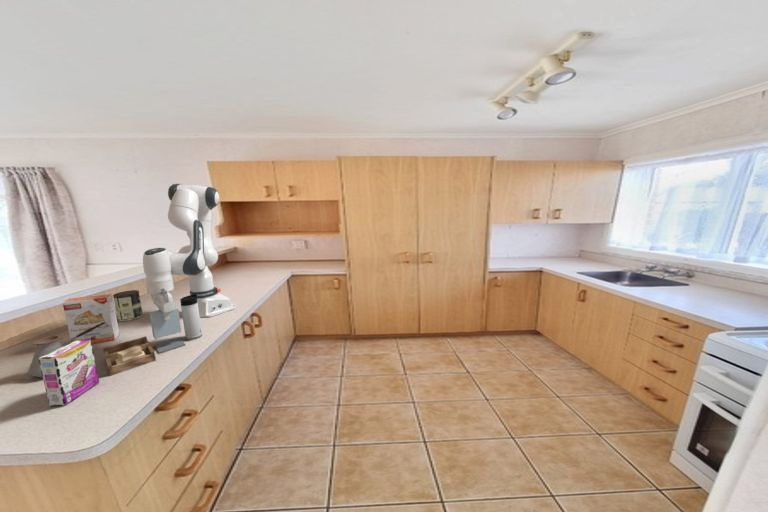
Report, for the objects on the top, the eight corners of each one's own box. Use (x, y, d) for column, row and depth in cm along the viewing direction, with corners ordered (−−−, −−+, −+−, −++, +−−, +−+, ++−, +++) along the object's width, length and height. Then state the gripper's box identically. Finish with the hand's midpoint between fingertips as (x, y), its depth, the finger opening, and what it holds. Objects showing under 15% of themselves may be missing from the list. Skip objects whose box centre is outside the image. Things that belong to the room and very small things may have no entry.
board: (178, 329, 121) (175, 306, 119) (181, 331, 119) (178, 308, 117) (153, 336, 114) (149, 312, 112) (155, 339, 112) (151, 314, 110)
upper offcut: (137, 352, 107) (136, 345, 106) (142, 353, 106) (141, 346, 105) (118, 360, 101) (116, 352, 101) (123, 361, 100) (121, 354, 100)
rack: (147, 346, 117) (146, 336, 116) (155, 360, 107) (153, 348, 106) (105, 359, 107) (103, 348, 106) (109, 375, 97) (107, 363, 96)
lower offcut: (144, 358, 108) (142, 350, 108) (146, 362, 106) (145, 354, 105) (116, 367, 102) (115, 359, 102) (118, 371, 100) (116, 363, 99)
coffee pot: (26, 385, 92) (14, 345, 89) (34, 370, 100) (24, 333, 97) (113, 361, 106) (106, 326, 103) (114, 349, 114) (107, 317, 111)
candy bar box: (66, 406, 82) (54, 357, 79) (49, 407, 82) (36, 358, 79) (101, 382, 93) (91, 339, 90) (85, 383, 93) (75, 339, 90)
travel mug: (205, 335, 127) (200, 295, 123) (191, 341, 121) (184, 299, 118) (197, 332, 130) (192, 293, 126) (182, 338, 124) (176, 297, 120)
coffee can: (139, 312, 154) (135, 288, 152) (146, 316, 149) (141, 292, 146) (115, 318, 146) (110, 293, 143) (121, 323, 140) (116, 297, 138)
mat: (179, 338, 124) (179, 337, 124) (185, 345, 118) (185, 344, 118) (154, 345, 118) (154, 344, 118) (159, 353, 111) (159, 352, 111)
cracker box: (71, 348, 116) (60, 302, 112) (79, 341, 121) (69, 297, 117) (115, 340, 122) (106, 297, 118) (120, 335, 127) (112, 293, 123)
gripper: (176, 290, 108) (180, 322, 111) (164, 281, 121) (168, 309, 124) (156, 293, 104) (161, 327, 106) (146, 283, 117) (150, 313, 119)
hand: (165, 317), depth 115 cm, fingers closed on board, 4 cm apart
